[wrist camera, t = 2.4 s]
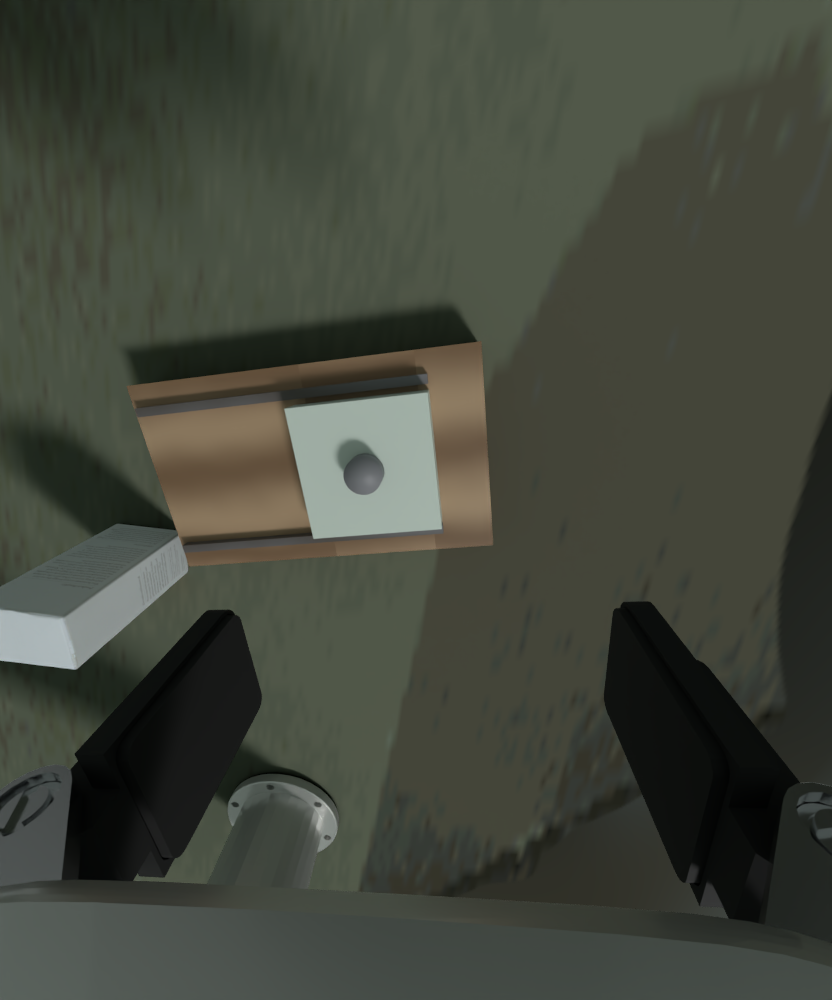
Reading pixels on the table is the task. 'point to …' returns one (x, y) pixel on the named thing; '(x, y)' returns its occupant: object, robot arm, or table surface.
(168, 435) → the brown wooden sliding box
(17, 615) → the skincare box
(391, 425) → the lid
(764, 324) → the table surface
